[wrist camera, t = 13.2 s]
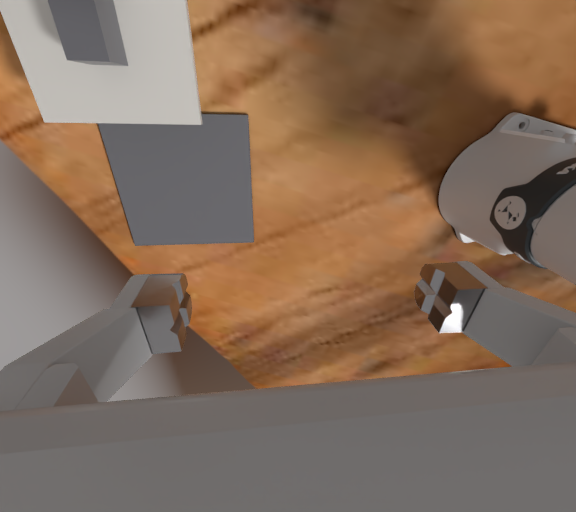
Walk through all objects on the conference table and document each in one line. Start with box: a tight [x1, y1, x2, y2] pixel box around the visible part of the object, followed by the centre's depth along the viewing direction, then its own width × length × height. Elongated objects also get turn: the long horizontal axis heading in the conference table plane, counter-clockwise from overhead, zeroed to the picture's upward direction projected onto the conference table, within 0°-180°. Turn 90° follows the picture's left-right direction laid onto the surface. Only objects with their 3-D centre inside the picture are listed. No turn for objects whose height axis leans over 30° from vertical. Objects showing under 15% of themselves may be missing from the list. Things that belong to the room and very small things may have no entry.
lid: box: [0, 0, 202, 125], centre depth 21 cm, size 14×14×4 cm
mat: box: [98, 114, 254, 246], centre depth 35 cm, size 17×17×1 cm
